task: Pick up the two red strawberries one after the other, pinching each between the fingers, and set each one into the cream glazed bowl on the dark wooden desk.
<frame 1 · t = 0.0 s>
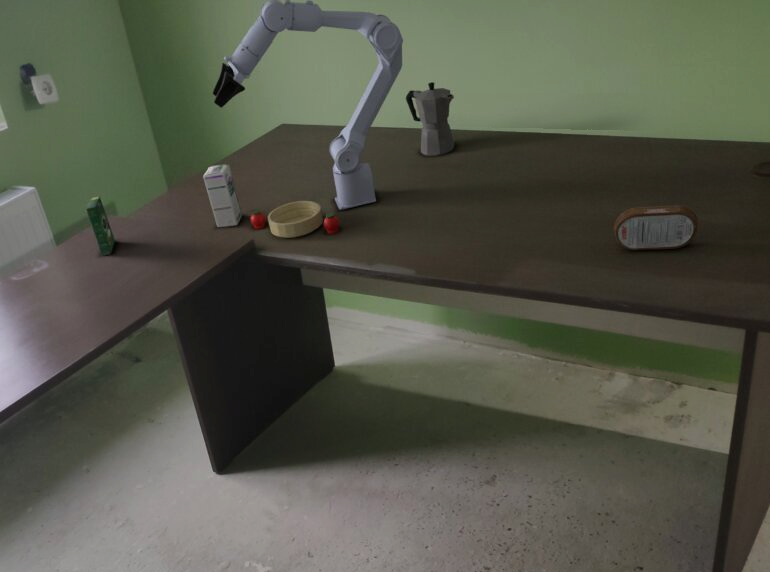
hand: (216, 100, 203), 32 cm above the table, tool tilted 50°, fingers open, 7 cm apart
tin: (654, 248, 172), on the table
white carton: (229, 222, 227), on the table
coffeepot: (434, 149, 238), on the table
bowl: (297, 227, 215), on the table
coffee box: (108, 248, 230), on the table
strawberry 2: (259, 226, 221), on the table
strawberry 1: (332, 230, 209), on the table
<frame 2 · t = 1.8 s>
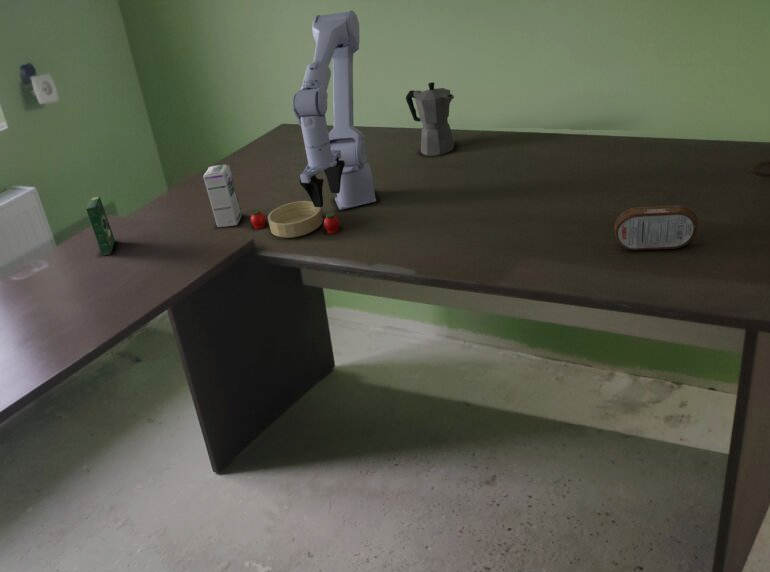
hand: (327, 199, 205), 8 cm above the table, tool pointing down, fingers open, 7 cm apart
nothing on the table moved.
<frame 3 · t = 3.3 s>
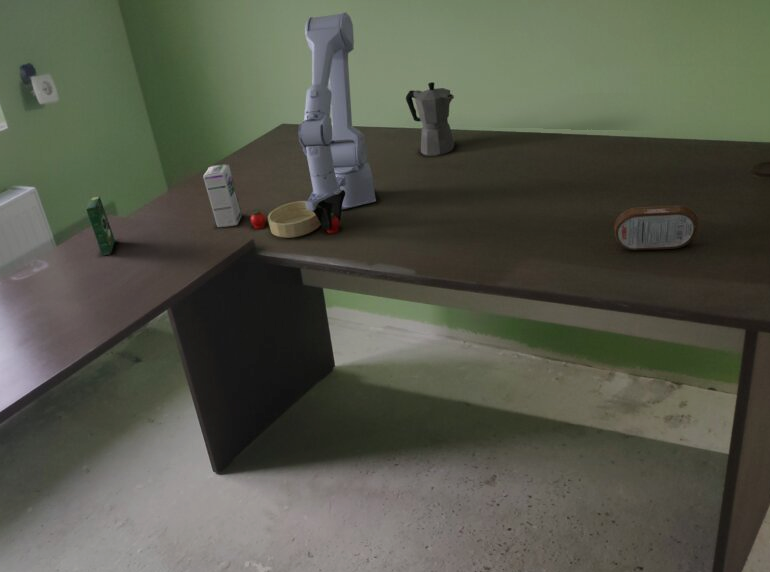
hand: (331, 225, 209), 1 cm above the table, tool pointing down, fingers closed on strawberry 1, 3 cm apart
strawberry 1: (332, 230, 209), on the table, touching gripper
everything else where it was.
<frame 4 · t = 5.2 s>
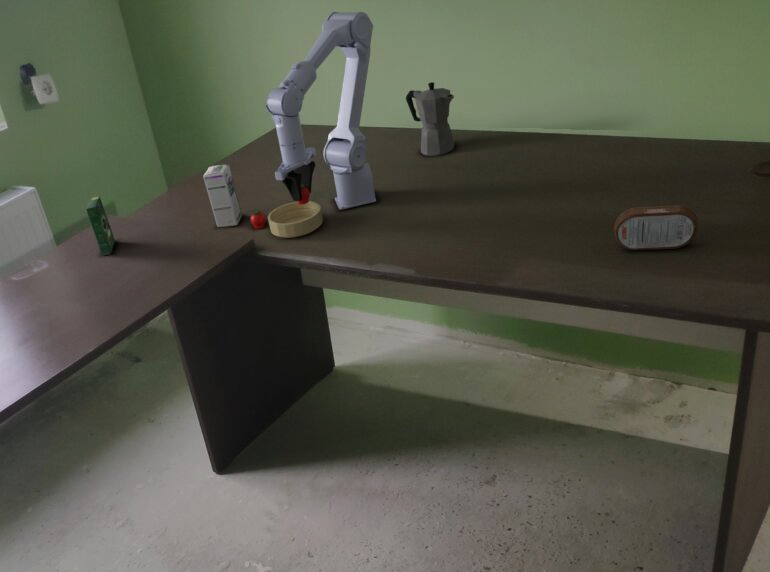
hand: (302, 196, 209), 8 cm above the table, tool pointing down, fingers closed on strawberry 1, 3 cm apart
strawberry 1: (303, 202, 209), point 7 cm above the table, touching gripper
everything else where it was.
when the fingers open (2 cm above the table, at t = 7.3 s): strawberry 1 stays where it is, resting on bowl.
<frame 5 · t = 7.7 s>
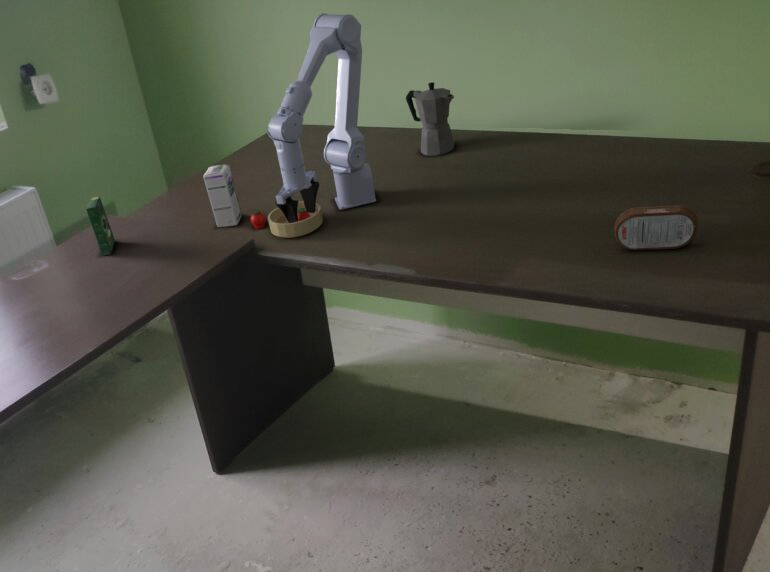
hand: (302, 219, 213), 2 cm above the table, tool pointing down, fingers open, 7 cm apart
strawberry 1: (304, 225, 214), point 1 cm above the table, touching bowl
everything else where it was.
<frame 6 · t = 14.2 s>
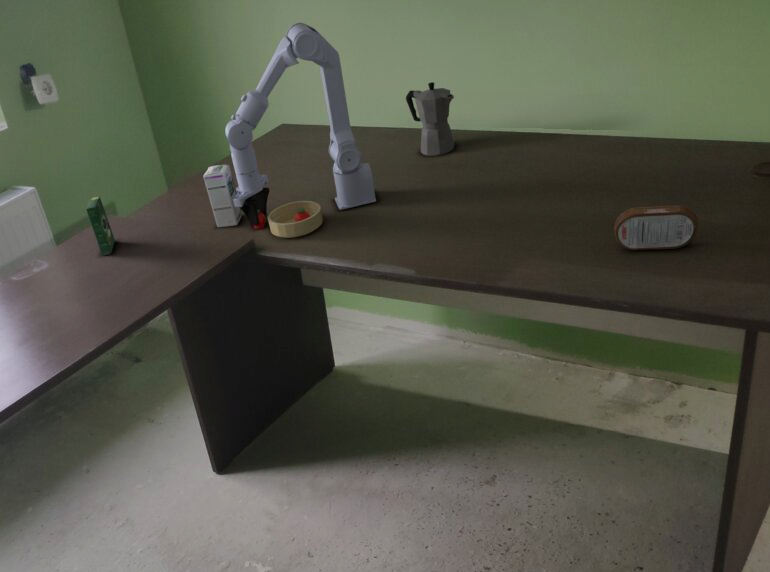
hand: (258, 221, 220), 1 cm above the table, tool pointing down, fingers closed on strawberry 2, 3 cm apart
strawberry 2: (259, 226, 221), on the table, touching gripper
everything else where it was.
when the fingers open (2 cm above the table, at t = 17.9 s): strawberry 2 stays where it is, resting on bowl.
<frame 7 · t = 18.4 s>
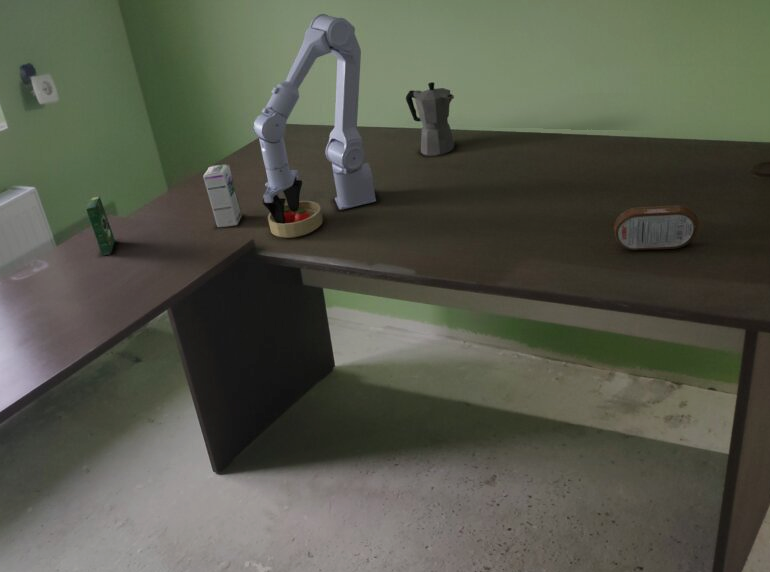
hand: (287, 217, 215), 2 cm above the table, tool pointing down, fingers open, 7 cm apart
strawberry 2: (289, 224, 216), point 1 cm above the table, touching bowl
everything else where it was.
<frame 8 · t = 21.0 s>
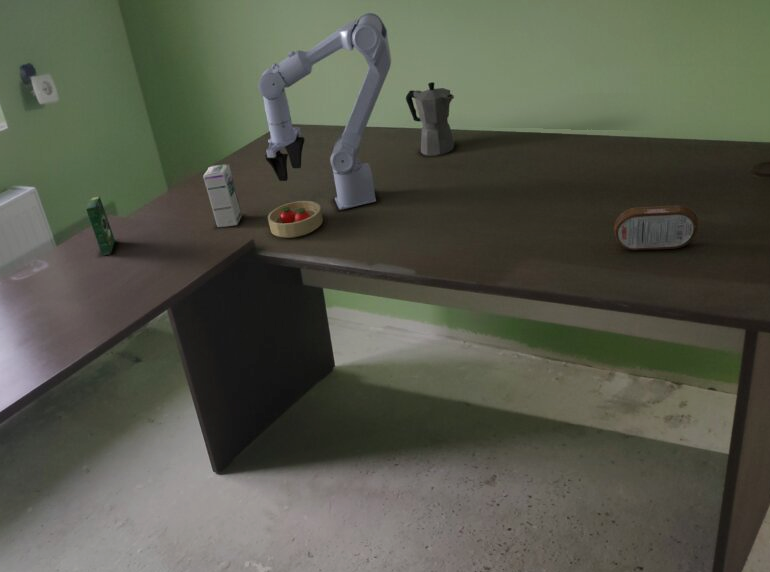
hand: (290, 174, 219), 9 cm above the table, tool pointing down, fingers open, 7 cm apart
nothing on the table moved.
at the end: strawberry 1 inside the target area in the bowl (2.3 cm from its centre), point 0.6 cm above the bowl's base; strawberry 2 inside the target area in the bowl (2.3 cm from its centre), point 0.6 cm above the bowl's base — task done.
